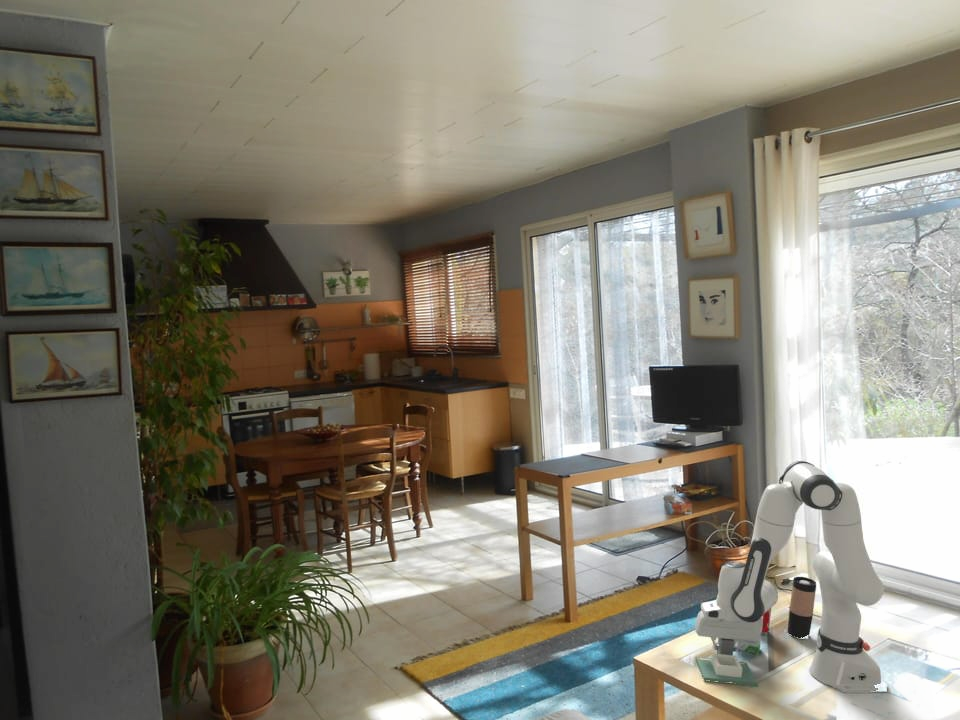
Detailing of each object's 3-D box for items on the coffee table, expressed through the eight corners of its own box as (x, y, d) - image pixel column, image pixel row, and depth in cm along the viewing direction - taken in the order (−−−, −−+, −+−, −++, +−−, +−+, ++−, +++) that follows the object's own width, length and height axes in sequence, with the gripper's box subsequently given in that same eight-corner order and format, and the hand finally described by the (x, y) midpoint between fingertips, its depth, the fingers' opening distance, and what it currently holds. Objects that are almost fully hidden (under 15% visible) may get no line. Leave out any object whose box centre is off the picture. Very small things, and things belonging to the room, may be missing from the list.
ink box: (760, 649, 252) (764, 616, 250) (757, 655, 247) (761, 621, 246) (733, 641, 256) (737, 608, 254) (730, 647, 252) (734, 614, 250)
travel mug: (781, 630, 266) (788, 577, 264) (799, 628, 269) (806, 575, 266) (796, 640, 259) (803, 586, 256) (814, 638, 261) (821, 584, 259)
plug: (728, 655, 246) (731, 632, 245) (731, 661, 242) (734, 638, 241) (716, 653, 247) (719, 631, 246) (719, 660, 243) (722, 637, 242)
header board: (746, 665, 240) (747, 653, 239) (756, 686, 228) (758, 673, 228) (695, 660, 241) (697, 648, 241) (703, 680, 229) (705, 668, 229)
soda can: (770, 636, 261) (774, 601, 259) (748, 633, 262) (752, 598, 260) (766, 627, 268) (770, 593, 266) (745, 624, 269) (749, 590, 267)
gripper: (759, 608, 245) (754, 648, 246) (696, 602, 246) (692, 642, 248) (765, 617, 238) (760, 658, 240) (700, 611, 240) (696, 651, 242)
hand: (725, 650), depth 244 cm, fingers open, 5 cm apart
